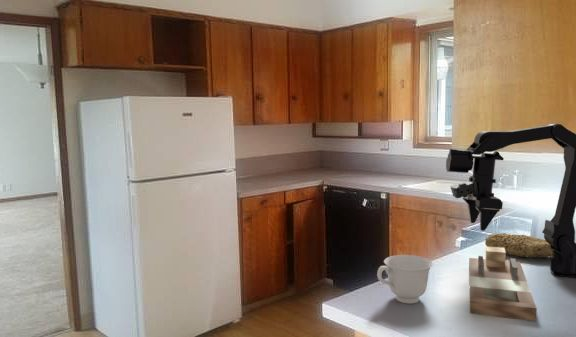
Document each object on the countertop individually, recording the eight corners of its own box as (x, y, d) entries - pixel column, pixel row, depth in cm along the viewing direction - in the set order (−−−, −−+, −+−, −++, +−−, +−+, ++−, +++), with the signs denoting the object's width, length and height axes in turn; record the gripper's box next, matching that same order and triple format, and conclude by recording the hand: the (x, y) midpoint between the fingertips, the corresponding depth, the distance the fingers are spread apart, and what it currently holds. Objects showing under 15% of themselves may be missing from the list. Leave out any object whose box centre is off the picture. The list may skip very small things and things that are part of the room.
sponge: (482, 256, 159) (541, 258, 143) (481, 233, 161) (539, 232, 144) (505, 256, 166) (563, 258, 150) (503, 234, 168) (561, 233, 151)
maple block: (503, 262, 139) (504, 247, 138) (505, 267, 134) (505, 252, 134) (485, 261, 141) (485, 246, 140) (486, 266, 136) (486, 251, 135)
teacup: (365, 296, 123) (365, 259, 122) (412, 287, 128) (412, 252, 127) (391, 314, 112) (392, 273, 111) (442, 303, 117) (443, 265, 116)
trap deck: (519, 271, 139) (520, 250, 139) (536, 321, 107) (537, 293, 106) (469, 267, 144) (469, 246, 144) (470, 312, 112) (470, 286, 111)
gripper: (446, 168, 147) (441, 217, 149) (464, 176, 128) (458, 232, 130) (483, 171, 146) (478, 220, 148) (506, 179, 127) (499, 235, 129)
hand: (477, 226), depth 139 cm, fingers open, 9 cm apart
